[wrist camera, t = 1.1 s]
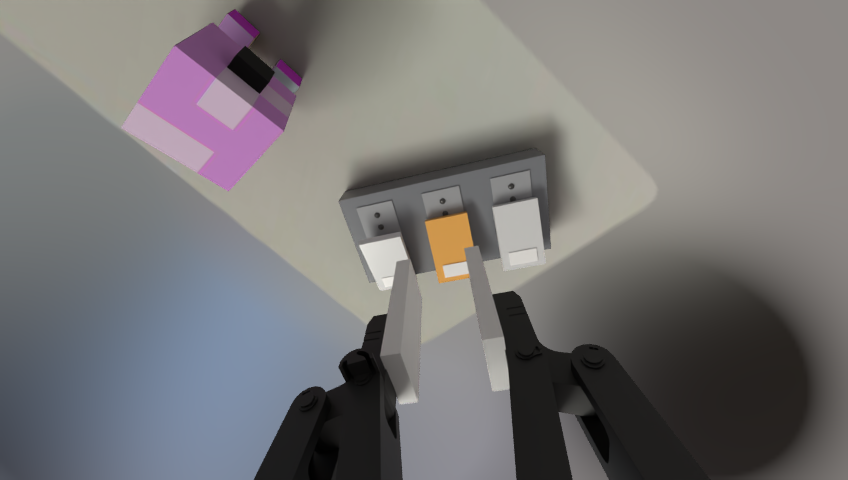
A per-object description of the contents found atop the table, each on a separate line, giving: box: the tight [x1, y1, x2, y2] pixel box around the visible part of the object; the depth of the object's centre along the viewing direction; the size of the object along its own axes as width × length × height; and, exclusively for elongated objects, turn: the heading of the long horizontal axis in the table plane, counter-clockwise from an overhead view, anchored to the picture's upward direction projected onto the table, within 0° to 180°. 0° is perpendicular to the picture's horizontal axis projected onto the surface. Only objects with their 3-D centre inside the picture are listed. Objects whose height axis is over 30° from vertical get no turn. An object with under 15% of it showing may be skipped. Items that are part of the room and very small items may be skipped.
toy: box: [121, 9, 302, 191], centre depth 30 cm, size 11×8×15 cm
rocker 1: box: [359, 232, 417, 291], centre depth 40 cm, size 8×5×1 cm, turn 13°
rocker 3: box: [492, 197, 546, 271], centre depth 38 cm, size 8×5×1 cm, turn 14°
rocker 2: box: [425, 211, 473, 283], centre depth 39 cm, size 8×5×1 cm, turn 14°
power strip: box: [339, 148, 551, 283], centre depth 41 cm, size 12×24×4 cm, turn 103°
